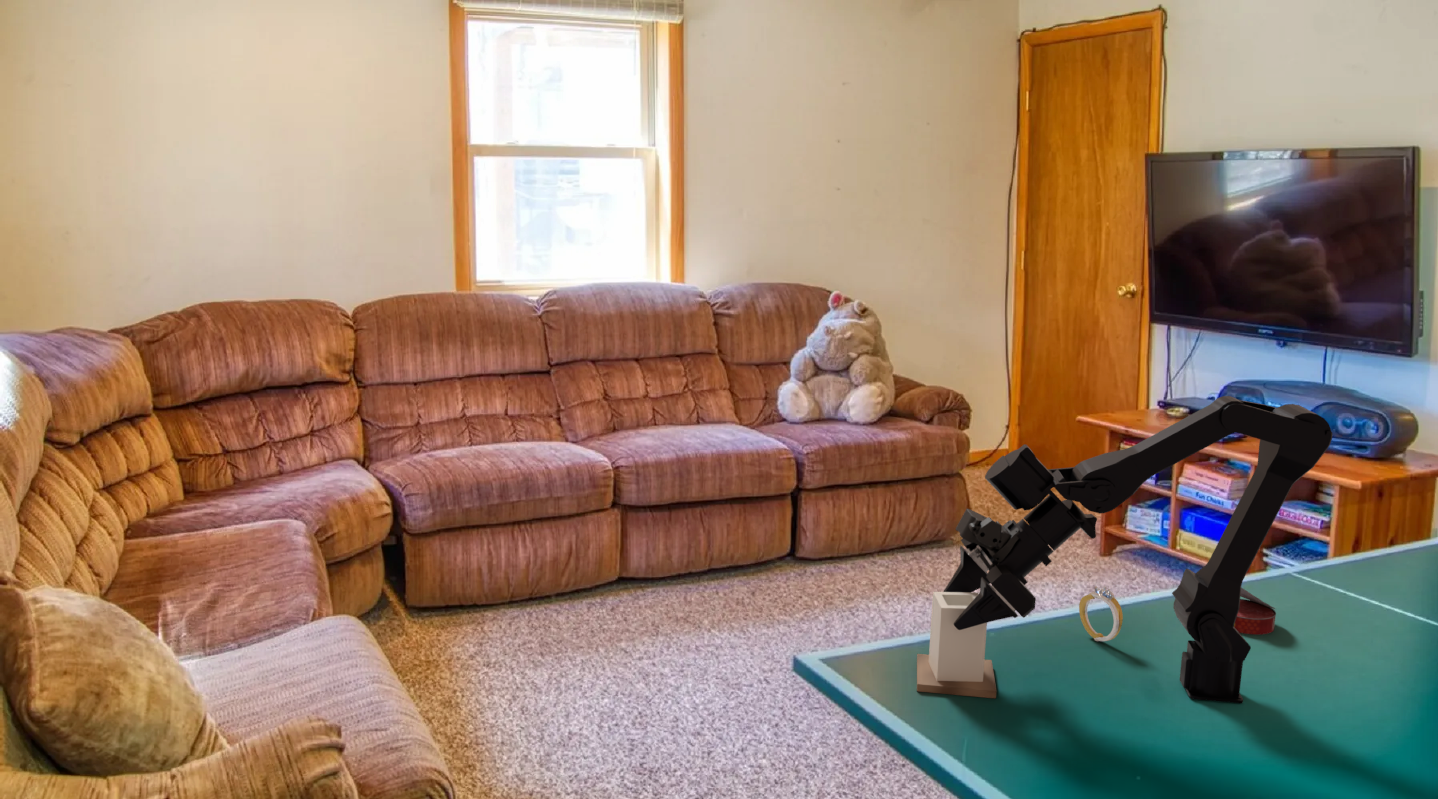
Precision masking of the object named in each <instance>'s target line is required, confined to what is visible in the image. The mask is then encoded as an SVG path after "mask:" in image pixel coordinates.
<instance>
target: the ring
mask: <svg viewBox="0 0 1438 799" xmlns="http://www.w3.org/2000/svg"><path fill="white" fill-rule="evenodd" d="M1095 599H1098V600H1101V601H1102V602H1104V603H1105V604H1106V605H1107V606H1108V607H1109V608H1110V610H1111V613H1112V618H1113V625H1112V629H1111V631H1110V632H1109V634H1108V635H1104V634H1103V633H1100V632H1097V631H1096V630H1095V629H1094V628H1093V627H1092V625H1091V622H1090V620H1089V616H1088V608H1089V607H1088V606H1089V604H1090V601H1091V600H1095ZM1078 611H1079V617H1080V621H1081V624H1082V625H1083V628H1084V630H1085V631H1086V632H1087V634H1088V635H1090V636H1091V638H1093V640H1094V641H1095V642H1108V641H1111V640H1114V639H1115V638H1116V637H1117V636H1118V635H1119V633H1120V631H1121V629H1122V624H1123V620H1124V618H1123V617H1124V616H1123V615H1124V614H1123V610H1122V607H1121V604H1120V603H1119V601H1118V600H1117V598H1116V597H1115V594H1114V593H1113V591H1111V589H1110V588H1107V586H1103V588H1100V587H1099V588H1098V586H1094V591H1090V592H1089V593H1088V594H1086V595H1084V596H1083V597H1081V599H1080V600H1079V604H1078Z"/></svg>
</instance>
